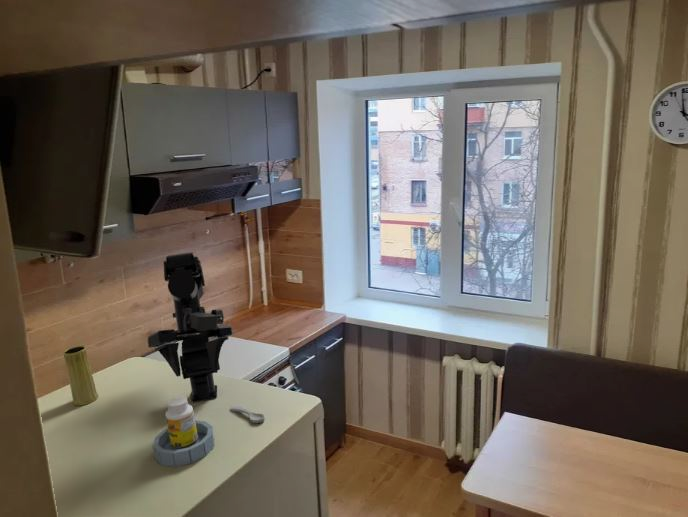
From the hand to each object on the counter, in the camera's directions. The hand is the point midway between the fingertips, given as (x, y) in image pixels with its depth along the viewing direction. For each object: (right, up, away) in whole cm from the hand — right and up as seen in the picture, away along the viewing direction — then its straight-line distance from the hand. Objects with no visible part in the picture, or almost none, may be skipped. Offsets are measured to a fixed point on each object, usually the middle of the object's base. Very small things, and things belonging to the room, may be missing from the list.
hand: (197, 373), depth 118 cm
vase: (-35, -12, +20) cm, 42 cm away
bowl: (-1, -14, -7) cm, 16 cm away
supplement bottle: (-1, -14, -7) cm, 16 cm away
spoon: (+11, -11, +4) cm, 16 cm away
